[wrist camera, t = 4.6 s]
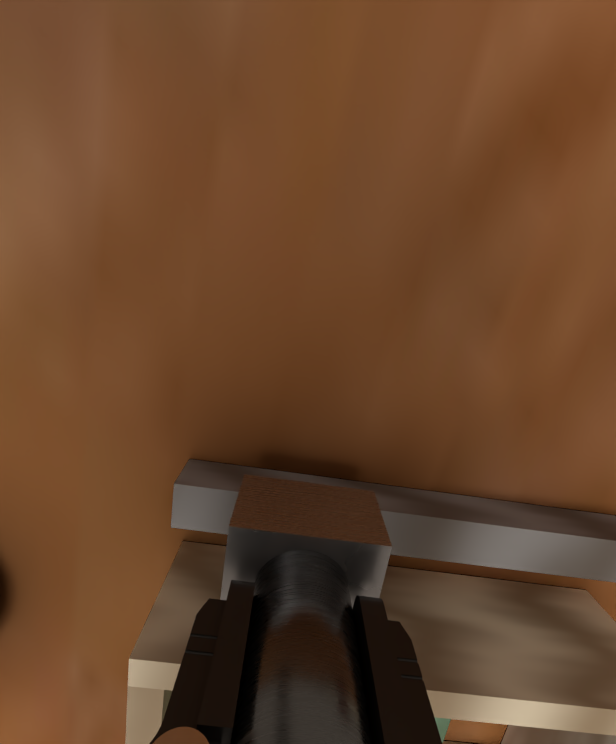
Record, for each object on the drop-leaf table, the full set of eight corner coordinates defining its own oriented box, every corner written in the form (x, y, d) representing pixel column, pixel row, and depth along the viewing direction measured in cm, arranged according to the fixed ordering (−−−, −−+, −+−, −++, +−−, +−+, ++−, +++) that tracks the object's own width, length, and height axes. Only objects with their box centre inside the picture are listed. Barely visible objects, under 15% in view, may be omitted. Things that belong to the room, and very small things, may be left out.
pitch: (167, 729, 20) (65, 1068, 12) (189, 458, 16) (57, 670, 8) (513, 762, 21) (658, 1097, 13) (618, 516, 17) (940, 761, 8)
